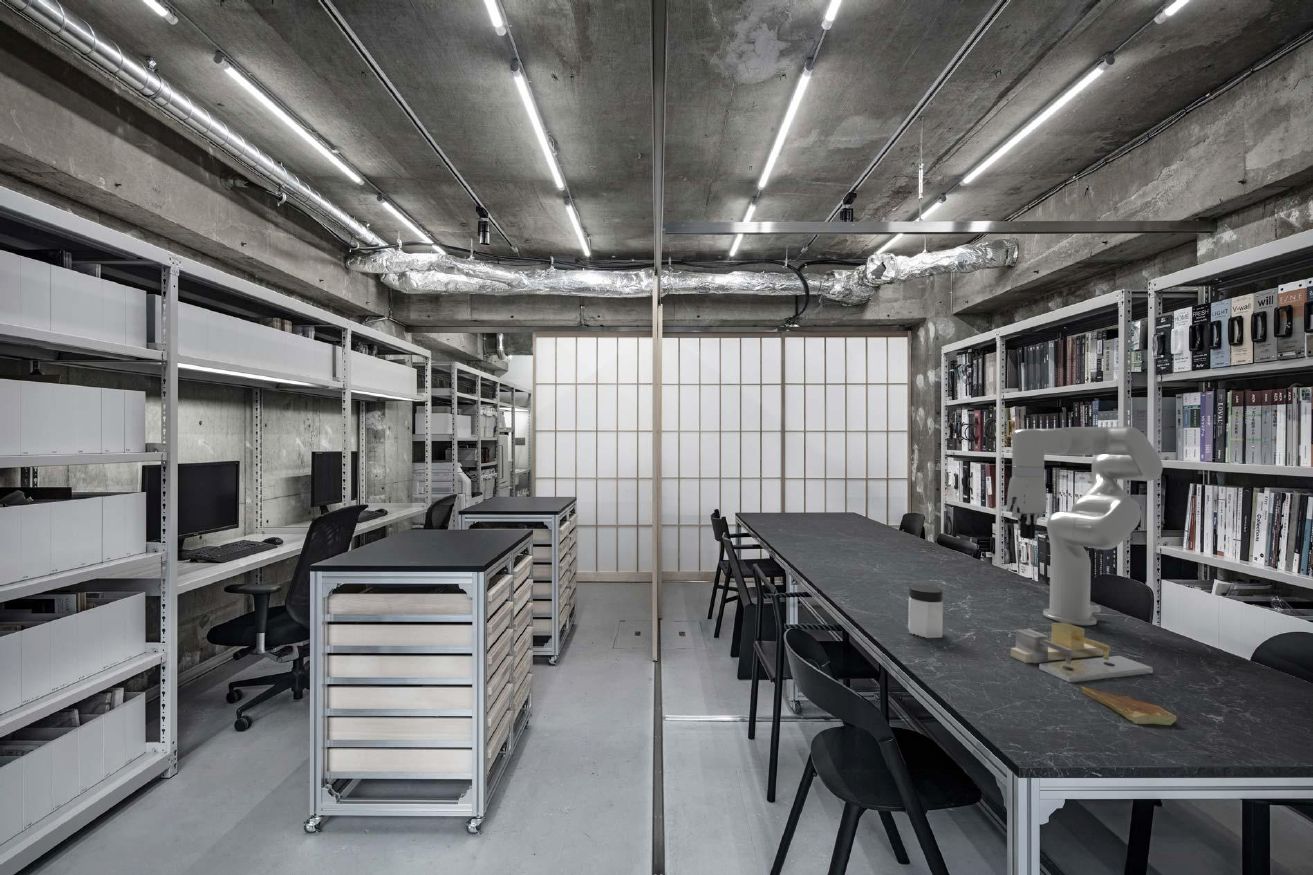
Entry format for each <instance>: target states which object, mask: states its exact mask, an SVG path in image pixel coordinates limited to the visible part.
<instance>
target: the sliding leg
mask: <svg viewBox="0 0 1313 875" xmlns="http://www.w3.org/2000/svg"><path fill="white" fill-rule="evenodd" d="M1050 641H1051V642H1053V643H1056V644H1059V645H1061V646H1064V647H1066V648H1069V649H1072V650H1079V649H1084V643H1085V644H1088V645H1091V646H1093V647H1096V648H1099V649H1102V650H1103V655H1102V657H1103V659H1106V660H1109V657H1110V652H1111V646H1110V645H1108V644H1105V643H1103V642H1099V641H1097V640H1094V639H1090V638H1088V637H1085V628H1083V627H1080V626H1078V625H1074V624H1068V623H1065V622H1051V639H1050Z"/></svg>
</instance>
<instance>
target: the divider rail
mask: <svg viewBox="0 0 1313 875" xmlns="http://www.w3.org/2000/svg"><path fill="white" fill-rule="evenodd" d="M1098 656H1101V657H1102V656H1103V650H1102V649H1099V648H1096V647H1093V646H1091V645H1088V644H1085V643H1084V649H1079V650H1072V649H1069V648H1066V647H1064V646H1061V645H1059V644H1056V643H1053V642H1051V640H1049V636H1048V635H1046V634H1044V633H1041V632H1038V631H1036V630H1032V629H1029V628H1026V629H1016V630H1015V647H1010V657H1011V658H1013V659H1016V660H1018V661H1020V662H1022V663H1024V664H1029V663H1033V664H1037V663H1038V664H1042V663H1049V662H1050V661H1057V660H1058V661H1059V660H1065V661H1066V663H1068V664H1071V661H1072V659H1077V658H1089V657H1098Z"/></svg>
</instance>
